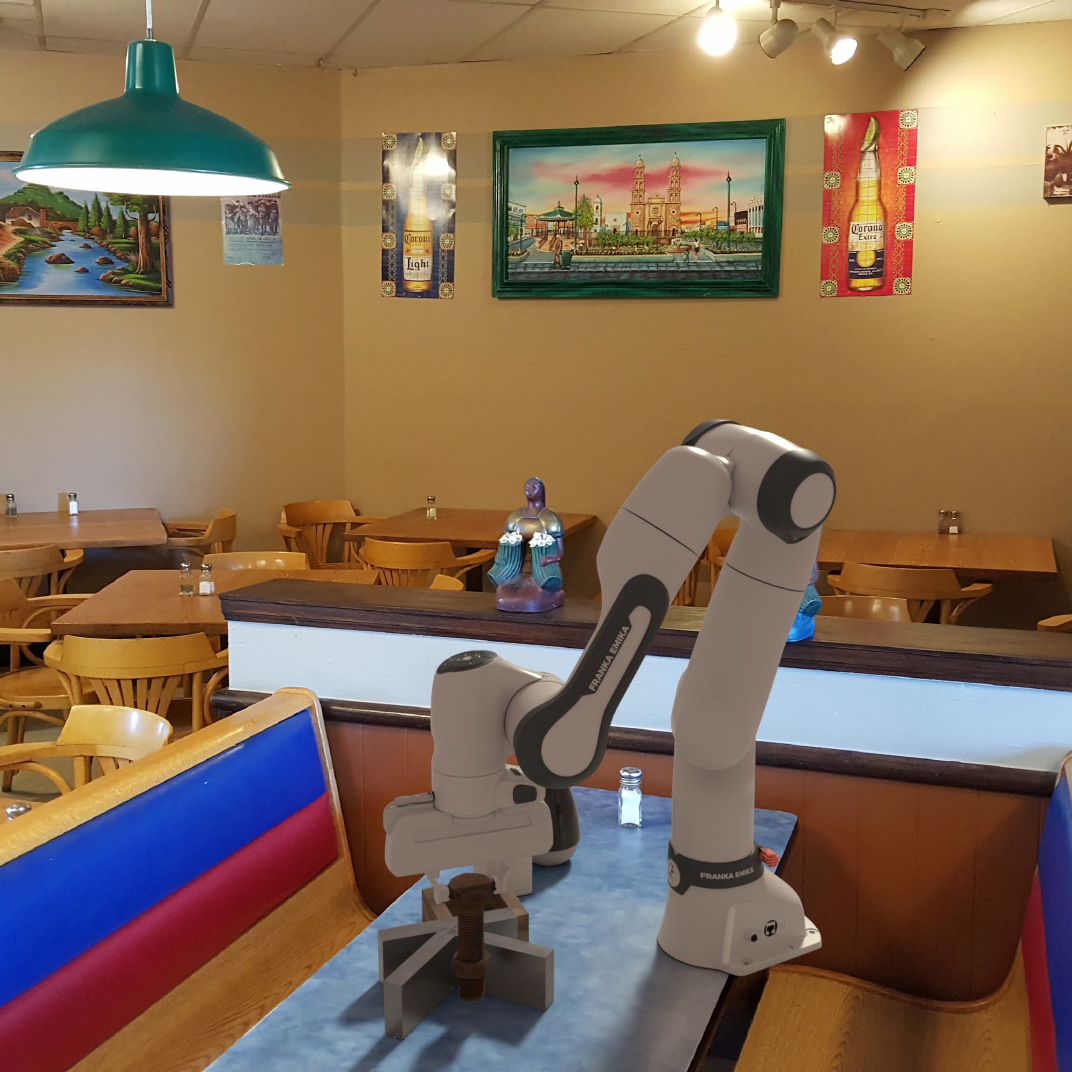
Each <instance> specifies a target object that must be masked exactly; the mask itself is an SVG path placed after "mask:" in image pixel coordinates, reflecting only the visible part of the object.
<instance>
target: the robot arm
mask: <svg viewBox="0 0 1072 1072" xmlns="http://www.w3.org/2000/svg"><path fill="white" fill-rule="evenodd" d="M836 483H837V482H836V474H835V472H834V469H833V467H832V466H831V465H830V464H829V463H828V462H827V461H826V460H825V459H824V458H823V457H822V456H820V455H819V454H818V453H816V452H814V451H813V450H811V449H809V448H803V447H801V446H799V445H798V444H795V443H794V442H792V441H790V440H788V439H786V438H784V437H782V436H779V435H778V434H775V433H772V432H771V431H763V430H760V429H757V428H754V427H749V426H745V425H742V424H740V423H739V422H737V421H734V420H729V419H719V418H718V419H717V418H716V419H715V418H714V419H708V420H706V421H703V422H701V423H699V424H698V425H697V426H695V427H694V428H692V430H690V431H689V433H687V435H686V436H685V437H684V438H683V440H682V442H681V443H680V445H678V446H675V447H672V448H670V449H668V450H667V451H666V452H665V453H663V454H662V456H661V457H659V459H658V460H657V461H656V462H655V463H653V465H652V466H651V467H650V468H649V470H648V471H647V472H646V473H645V474H644V475H643V476H642V478H641V479H640V480H639V482H637V484H636V485H635V487H634V488H633V489H632V491H631V492H630V493H629V495H628V496H627V498H626V499H625V501H624V502H623V504H622V505H621V507H620V508H619V509H618V511H617V513H616V514H615V516H614V517H613V519H612V520H611V522H610V524H609V526H608V528H607V530H606V532H605V534H604V536H603V539H602V540H601V544H600V546H599V548H598V552H597V554H596V569H597V575H598V578H599V582H600V590H601V610H600V616H599V620H598V622H597V625H596V627H595V630H594V631H593V633H592V635H591V637H590V639H589V640H588V642H587V644H586V646H585V648H584V649H583V651H582V653H581V655H580V656H579V659H578V660H577V662H576V664H575V666H574V667H573V669H572V671H571V673H570V674H569V676H568V678H567V680H566V681H564V680H563V679H561V678H560V677H558V676H556V675H554V674H552V673H550V672H546V671H545V672H544V671H537V670H531V669H528V668H525V667H522V666H519V665H516V664H514V663H511V662H510V661H508V660H506V659H504V658H503V657H501V656H500V655H499V654H497V652H495V651H492V650H486V649H482V650H481V649H473V650H467V651H463V652H459V653H456V654H454V655H452V656H450V657H448V658H447V659H445V660H443V661H442V662H441V663H440V664H439V665H438V667H437V669H436V670H435V673H434V676H433V680H432V686H431V697H430V733H431V735H432V738H433V744H434V746H433V747H434V748H433V754H432V757H431V765H430V766H431V791H428V792H427V791H426V792H422V793H416V794H413V795H401V796H397V797H395V798H394V800H392V801H390V802H389V803H388V804H387V805H386V806H385V807H384V810H383V813H382V825H383V830H384V831H385V832H386V836H385V845H384V861H385V864H386V867H387V869H388V871H390V873H391V874H392V875H394V876H395V877H396V878H402V877H408V876H413V875H420V874H424V875H425V876H426V878H427V880H428V881H429V883H430V885H431V886H432V887H434V900H435V902H436V904H442V903H447V902H449V897H448V896H449V889H448V887H447V885H448V884H447V883H439V882H438V881H437V879H440V877H441V875H440V874H441V873H440V872H441V871H446V870H451V869H456V868H457V869H458V868H464V867H471V866H473V865H477V864H484V863H490V862H496V861H501V862H502V865H501V867H500V869H499V872H498V874H497V875H492V876H491V880H492V881H493V882H494V891H493V892H494V894H500V893H506V892H507V880H508V878H509V877H510V875H511V873H512V871H513V870H514V868H515V866H516V858H521V857H527V856H534V855H540V854H546V853H547V852H548V851H549V850H550V848H551V847H552V845H553V828H552V819H551V813H550V810H549V807H548V806H547V804H546V803H545V802H544V801H543V799H544V798H545V788H549V789H565V788H570V789H571V788H572V787H575V786H577V785H578V786H579V784H581V783H583V782H585V781H586V780H588V779H589V778H590V777H592V775H593V774H594V773H595V772H596V771H597V770H598V768H599V767H600V765H601V764H602V762H603V759H604V757H605V754H606V750H607V747H608V746H607V745H608V740H609V734H610V730H611V726H612V725H611V724H612V722H613V718H614V717H615V714H616V713H617V712H616V711H617V710H618V707H619V706H620V704H621V702H622V700H623V698H624V696H625V694H626V693H627V691H628V689H629V687H630V686H631V684H632V682H633V680H634V678H635V676H637V673H638V671H639V669H640V667H641V665H642V663H643V661H644V660H645V658H646V656H647V654H648V653H649V651H650V649H651V647H652V645H653V643H654V641H655V640H656V638H657V635H658V633H659V631H660V628H661V627H662V625H663V622H664V620H665V618H666V616H667V614H668V611H669V609H670V607H671V606H672V605H671V604H672V603H673V601H674V599H675V597H676V596H677V594H678V592H679V590H680V589H681V587H682V585H683V584H684V582H685V581H686V579H687V577H688V576H689V574H690V572H692V569H693V568H694V566H695V565H696V563H697V562H698V560H699V557H701V555H702V554H703V552H704V550H706V549H705V548H706V547H707V545H708V543H709V542H710V540H711V538H712V536H713V534H714V533H715V530H716V529H717V527H718V525H719V523H720V522H721V521H723V519H725V518H726V517H728V516H729V515H730V516H732V517H735V518H737V519H738V520H739V521H738V524H739V527H738V529H737V531H736V533H735V534H734V537H733V540H732V541H731V544H730V545H729V546H730V547H729V548H728V551H727V553H726V556H725V558H724V561H723V563H722V567H721V570H720V573H719V575H718V578H717V581H716V583H715V586H714V588H713V591H712V594H711V598H710V600H709V602H708V605H707V608H706V610H705V613H704V617H703V619H702V623H701V624H700V629H699V632H698V635H697V638H696V640H695V644H694V645H693V646H694V647H693V649H692V653H691V655H690V658H689V662H688V664H687V667H686V668H685V670H684V671H683V672H682V674H681V675H680V677H679V680H678V683H677V685H676V692H675V694H674V695H675V696H674V700H673V705H672V710H671V715H670V727H671V733H672V736H673V739H674V749H673V750H674V752H673V753H674V754H673V769H672V770H673V771H672V785H671V787H672V788H671V790H672V791H671V836H670V837H671V838H670V839H669V841H668V843H667V844H668V845H667V846H668V847H667V862H666V872H667V874H666V875H667V884H668V888H667V889H668V890H667V896H666V902H665V909H664V912H663V917H662V921H661V924H660V927H659V929H658V930H659V931H658V933H657V942H658V944H659V946H660V947H661V949H662V950H663V951H664V952H666V954H667V955H669V956H670V957H672V958H674V959H676V960H678V961H681V962H683V963H686V964H688V965H692V966H696V967H701V968H707V969H712V970H713V969H715V970H718V971H722V972H725V973H728V974H731V975H733V976H738V977H744V976H747V975H750V974H753V973H756V972H758V971H762V970H764V969H768V968H770V967H772V966H776V965H778V964H781V963H784V962H786V961H789V960H791V959H794V958H798V957H800V956H803V955H806V954H808V953H810V952H814V951H816V950H819V949H821V948H822V936H821V933H820V931H819V929H818V928H817V927H816V925H815V924H814V923H813V922H812V921H811V920H810V919H809V918H808V917H807V916H806V915H805V911H804V907H803V903H802V901H801V899H800V896H799V895H798V893H797V892H796V891H795V890H794V889H793V888H792V886H791V885H789V884H788V883H786V881H784V880H783V879H781V877H779V876H778V875H777V874H775V873H773V871H771V870H769V869H768V868H771V869H773V868H775V867H777V866H778V864H779V863H780V856H779V855H778V854H777V853H776V852H774V851H773V850H771V849H770V848H765V849H764V848H763V846H762V844H760V843H759V842H757V841H756V840H754V827H755V826H754V823H755V820H754V819H755V794H756V793H755V790H756V789H755V787H756V785H755V782H756V748H757V747H756V746H757V745H756V743H757V740H756V739H757V738H756V737H757V733H758V729H759V727H760V724H761V721H762V719H763V716H764V712H765V710H766V707H767V703H768V700H769V698H770V694H771V692H772V688H773V684H774V681H775V678H776V675H777V673H778V668H779V665H780V662H781V659H782V656H783V652H784V648H785V646H786V643H787V640H788V638H789V635H790V632H791V630H792V628H793V625H794V623H795V621H796V617H797V614H798V612H799V609H800V608H801V607H800V606H801V604H802V602H803V599H804V596H805V593H806V591H807V588H808V586H809V583H810V580H811V577H812V573H813V570H814V567H815V563H816V560H817V556H818V551H819V546H820V541H821V535H822V529H823V524H824V523H825V522H826V520H827V519H828V517H829V515H830V513H831V512H832V510H833V507H834V504H835V502H836V498H837V497H836V496H837V484H836ZM510 756H515V759H516V760H517V764H518V765H513V764H509V763H507V758H509V757H510ZM763 863H764V864H765V865H766V866H767V867H768V868H766V867H765V866H764V864H763Z"/></svg>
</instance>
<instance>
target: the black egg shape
mask: <svg viewBox="0 0 1072 1072" xmlns="http://www.w3.org/2000/svg"><path fill="white" fill-rule="evenodd" d="M543 801H544V802H545V803H546V804H547V806H548V807H549V810H550V813H551V819H552V828H553V845H552V847H551V848H550V850H549V851H548V852H547V853H546V854H540V855H534V856H532V863H535V864H537V865H539V866H540V865H541V866H548V867H550V866H552V865H553V866H558V865H562V864H564V863H566V862H567V861H568V860H570V859H571V858H572V857H573V855H574V854H575V852H576V850H577V848H578V844H579V843H580V840H581V825H580V817H579V812H578V808H577V804H576V801H575V797H574V794H573V792H572V789H571V787H570V788H565V789H549V788H545V798H544V799H543Z"/></svg>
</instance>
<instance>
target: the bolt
mask: <svg viewBox="0 0 1072 1072" xmlns="http://www.w3.org/2000/svg"><path fill="white" fill-rule="evenodd" d="M447 885H448V889H449V896H448V897H449V898H450V899H452V900H454V901H456V902H457V911H458V912H457V913H458V951H457V952H456V953H455V954H454V956H453V959H452V962H451V964H452V971H453V972H454V973H455V974H456V975H457V976H459V987H458V997H459V998H460V999H461V1000H462V1001H465V1002H469V1003H470V1002H471V1003H472V1002H477V1001H480V1000H481V999H483V998H484V996H485V995H486V994H485V987H484V986H485V975H486V974H487V973H488V972H489V969H490V966H491V955H490V954H489V953H488V952H487V951H486V950H485V949H484V907H485V902H487V901H488V900H489V898H490V896H491V894H492V892H493V891H494V882H493V881H492V880H491V879H490V878H489V877H488V876H486V875H484V874H479V873H473V872H463V873H459V874H457V875H455V876H454V877H452V878H451V879H450V880H449V881H448V884H447Z"/></svg>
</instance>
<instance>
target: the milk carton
mask: <svg viewBox="0 0 1072 1072" xmlns="http://www.w3.org/2000/svg"><path fill="white" fill-rule="evenodd" d="M501 865H502V862H501V861H496V862H490V863H484V864H477V865H472V866H473V867H472V869H473V871H472V873H479V874H484V875H486V876H488V877H489V878H491V876H492V875H497V874H498V872H499V869H500V867H501ZM507 884H508V885H509V887H510V888H511V890H512V891H513V892H514V894H515V895H516V897H519V896H524V895H529V894H528V893H530V894H532V893H533V862H532V856H527V857H521V858H516V866H515V868H514V870H513V871H512V873H511V875H510V877H509V878H508V880H507ZM531 892H532V893H531Z"/></svg>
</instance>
